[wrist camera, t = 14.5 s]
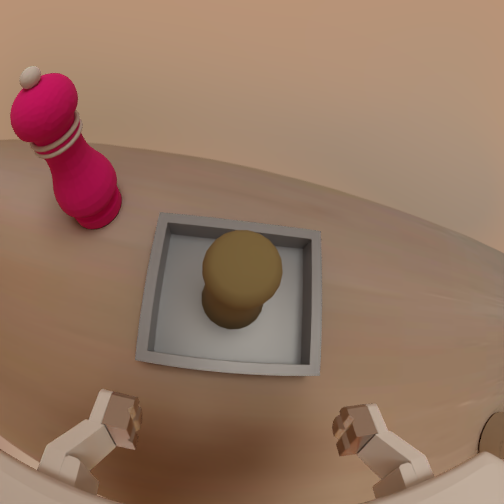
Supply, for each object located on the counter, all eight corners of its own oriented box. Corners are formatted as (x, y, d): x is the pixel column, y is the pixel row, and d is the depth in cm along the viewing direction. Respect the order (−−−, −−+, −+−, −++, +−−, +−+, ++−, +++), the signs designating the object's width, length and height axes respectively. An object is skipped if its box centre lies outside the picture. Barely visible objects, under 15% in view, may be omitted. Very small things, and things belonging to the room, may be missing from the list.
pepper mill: (81, 181, 30) (19, 55, 12) (131, 180, 31) (87, 33, 12) (66, 233, 27) (-29, 113, 9) (119, 234, 28) (38, 89, 10)
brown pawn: (266, 273, 28) (297, 223, 18) (260, 333, 26) (291, 317, 16) (206, 264, 28) (203, 208, 17) (197, 324, 25) (185, 303, 15)
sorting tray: (144, 359, 24) (135, 360, 21) (165, 228, 29) (159, 212, 26) (307, 373, 26) (319, 375, 22) (309, 244, 31) (320, 231, 28)
